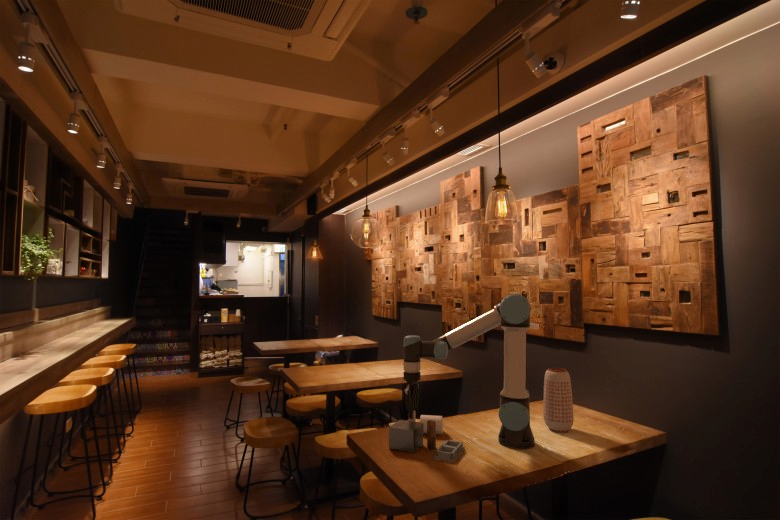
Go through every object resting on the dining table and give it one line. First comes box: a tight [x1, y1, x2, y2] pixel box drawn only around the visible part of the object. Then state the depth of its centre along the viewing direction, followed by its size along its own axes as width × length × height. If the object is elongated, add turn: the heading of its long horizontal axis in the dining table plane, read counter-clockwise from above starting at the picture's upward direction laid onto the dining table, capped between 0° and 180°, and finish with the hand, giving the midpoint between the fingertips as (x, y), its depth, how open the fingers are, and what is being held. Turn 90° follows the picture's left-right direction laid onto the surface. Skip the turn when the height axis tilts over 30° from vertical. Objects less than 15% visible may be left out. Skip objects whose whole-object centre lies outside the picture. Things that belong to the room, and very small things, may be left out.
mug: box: [419, 414, 444, 436], centre depth 198 cm, size 12×10×8 cm
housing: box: [388, 419, 424, 454], centre depth 180 cm, size 11×11×9 cm
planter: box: [543, 367, 575, 433], centre depth 202 cm, size 13×13×28 cm
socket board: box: [433, 439, 465, 464], centre depth 171 cm, size 8×15×3 cm, turn 154°
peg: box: [426, 420, 437, 451], centre depth 178 cm, size 4×4×11 cm
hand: (412, 425), depth 185 cm, fingers closed
